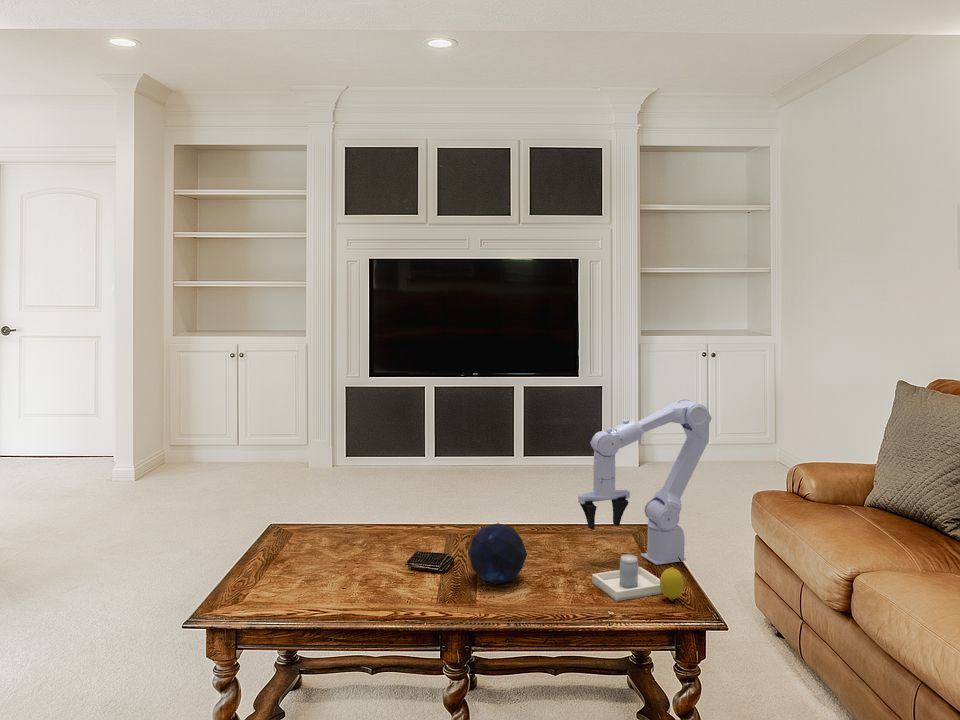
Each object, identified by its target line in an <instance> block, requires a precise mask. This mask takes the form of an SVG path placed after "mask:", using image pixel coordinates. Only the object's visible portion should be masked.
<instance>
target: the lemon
mask: <svg viewBox="0 0 960 720" xmlns="http://www.w3.org/2000/svg"><path fill="white" fill-rule="evenodd" d="M659 579H660V589H661V591H662V593H663V596H665V597H666V598H668V599H669V601H674V600H675V599H677V598H680V596H682V595H683V592H684V588H685V581H684V576H683V575H682V573H681V572H680V571H679V570H678V569H676V568H675V567H674V566H671V567H670V568H666V569H664V571H663V572H662V573H661V576H660V578H659Z"/></svg>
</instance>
